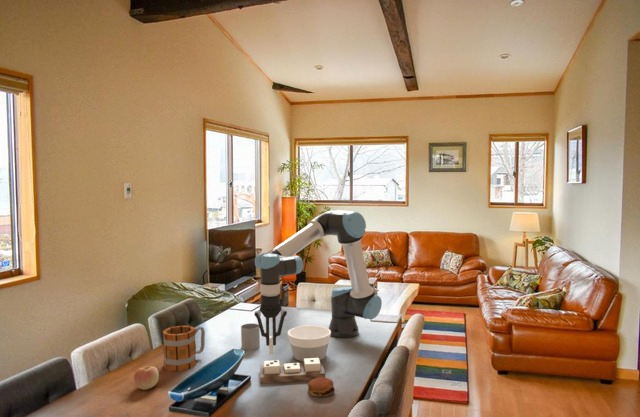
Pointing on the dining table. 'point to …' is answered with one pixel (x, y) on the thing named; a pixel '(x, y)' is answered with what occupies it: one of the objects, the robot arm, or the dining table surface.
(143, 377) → the peach
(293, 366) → the tile two
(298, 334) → the bowl
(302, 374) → the board
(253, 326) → the cup
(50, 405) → the dining table surface
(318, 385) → the burger
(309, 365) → the tile one
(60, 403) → the dining table surface
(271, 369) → the tile three
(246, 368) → the dining table surface
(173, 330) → the mug
